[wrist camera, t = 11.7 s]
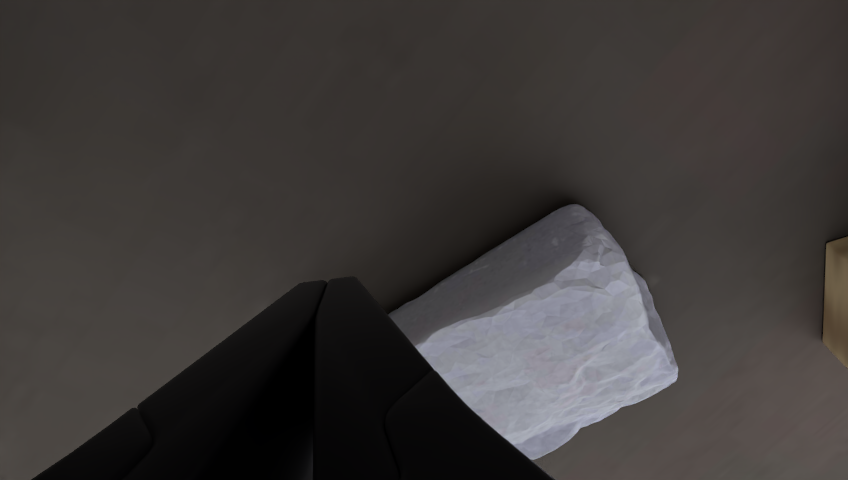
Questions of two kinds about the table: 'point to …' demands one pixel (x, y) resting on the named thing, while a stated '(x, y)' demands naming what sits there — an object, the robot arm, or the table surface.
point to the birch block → (836, 299)
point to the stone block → (544, 332)
